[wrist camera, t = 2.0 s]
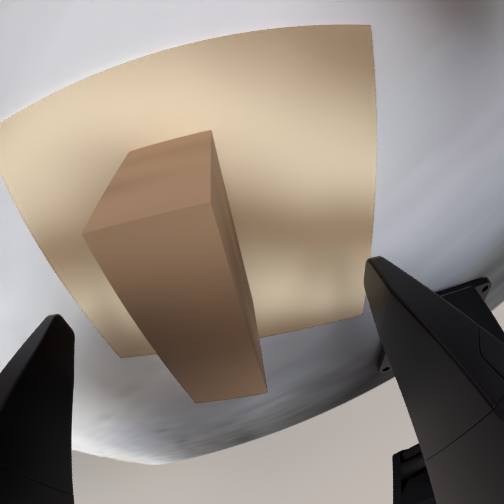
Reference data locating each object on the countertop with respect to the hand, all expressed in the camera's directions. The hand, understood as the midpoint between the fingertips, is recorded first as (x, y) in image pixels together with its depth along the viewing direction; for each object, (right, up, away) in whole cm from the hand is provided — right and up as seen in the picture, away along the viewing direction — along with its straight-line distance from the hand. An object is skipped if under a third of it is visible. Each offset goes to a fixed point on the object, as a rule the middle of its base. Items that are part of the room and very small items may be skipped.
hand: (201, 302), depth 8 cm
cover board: (0, +2, +3) cm, 4 cm away
